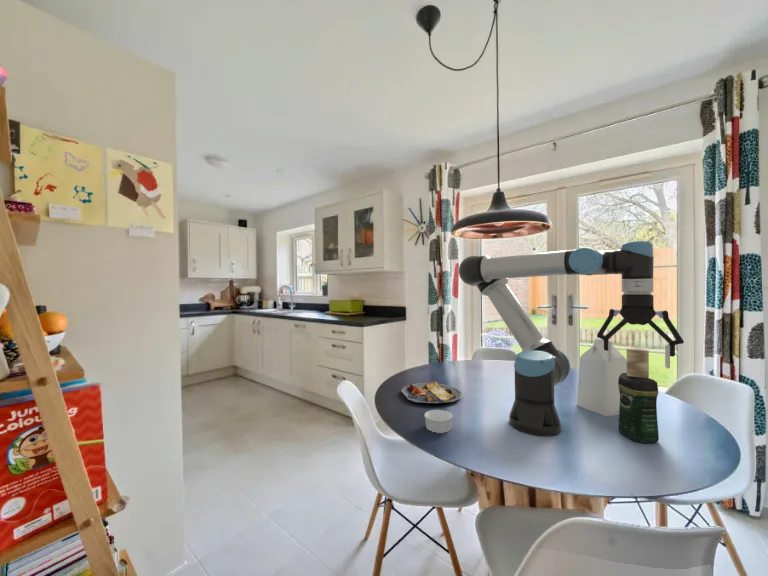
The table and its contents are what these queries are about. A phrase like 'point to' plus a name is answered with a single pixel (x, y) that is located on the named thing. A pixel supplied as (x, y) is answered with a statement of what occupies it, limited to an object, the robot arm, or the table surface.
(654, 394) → the coffee jar
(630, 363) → the beech block
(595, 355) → the milk
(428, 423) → the ramekin
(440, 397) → the food plate
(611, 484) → the table surface
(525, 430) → the robot arm
